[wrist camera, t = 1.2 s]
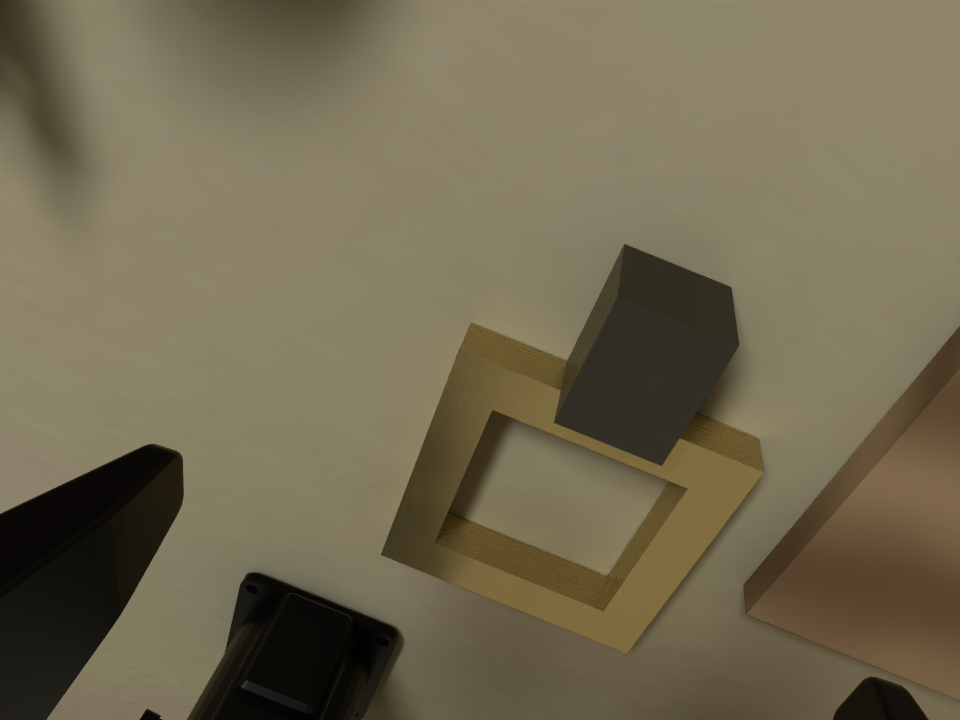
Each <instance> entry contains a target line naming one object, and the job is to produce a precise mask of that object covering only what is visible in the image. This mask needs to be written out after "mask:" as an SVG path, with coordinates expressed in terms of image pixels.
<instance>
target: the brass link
mask: <svg viewBox="0 0 960 720" xmlns="http://www.w3.org/2000/svg"><path fill="white" fill-rule="evenodd" d="M738 347H739V341H738V333H737V326H736V319H735V312H734V304H733V297H732V290H731V287H729V286H727V285H724V284H722V283H719V282H717V281H714V280H712V279H710V278H707V277H705V276H702V275H700V274H697V273H695V272H692V271H690V270H687V269H685V268H682V267H680V266H677V265H675V264H672V263H670V262H667V261H665V260H662V259H660V258H657V257H655V256H652V255H650V254H647V253H645V252H643V251H640V250H638V249H635V248H633V247H630V246H628V245H625V244H624V246H623V248H622V250H621V252H620V254H619V256H618V258H617V260H616V262H615V265H614V267H613V269H612V271H611V273H610V275H609V277H608V279H607V281H606V283H605V285H604V287H603V289H602V291H601V293H600V295H599V297H598V299H597V301H596V303H595V306H594V308H593V310H592V312H591V314H590V316H589V318H588V320H587V322H586V324H585V326H584V328H583V330H582V332H581V334H580V336H579V338H578V340H577V342H576V344H575V346H574V349H573V351H572V353H571V355H570V357H569V359H568V361H564V360H562V359H559V358H557V357H554V356H552V355H549V354H547V353H544V352H542V351H539V350H537V349H534V348H532V347H529V346H527V345H524V344H522V343H519V342H517V341H514V340H512V339H510V338H507V337H505V336H502V335H500V334H497V333H495V332H492V331H490V330H487V329H485V328H482V327H480V326H477V325H475V324H472V323H471V324H470V326H469V329H468V331H467V333H466V335H465V337H464V340H463V342H462V344H461V346H460V349H459V351H458V354H457V356H456V359H455V362H454V364H453V367H452V369H451V372H450V375H449V377H448V380H447V383H446V385H445V388H444V390H443V393H442V396H441V398H440V401H439V404H438V406H437V409H436V411H435V414H434V417H433V419H432V422H431V425H430V427H429V430H428V432H427V435H426V438H425V440H424V443H423V446H422V448H421V451H420V453H419V456H418V459H417V461H416V464H415V467H414V469H413V472H412V474H411V477H410V480H409V482H408V485H407V488H406V490H405V493H404V495H403V498H402V501H401V503H400V506H399V509H398V511H397V514H396V516H395V519H394V522H393V524H392V527H391V530H390V532H389V535H388V538H387V540H386V543H385V545H384V548H383V551H382V553H381V555H383V556H385V557H388V558H390V559H393V560H395V561H398V562H400V563H402V564H405V565H407V566H410V567H412V568H415V569H417V570H420V571H422V572H425V573H427V574H430V575H432V576H435V577H437V578H440V579H442V580H445V581H447V582H450V583H452V584H455V585H457V586H460V587H462V588H465V589H467V590H470V591H472V592H475V593H477V594H480V595H482V596H485V597H487V598H490V599H492V600H495V601H497V602H500V603H502V604H505V605H507V606H510V607H512V608H515V609H517V610H520V611H522V612H524V613H527V614H529V615H532V616H534V617H537V618H539V619H542V620H544V621H547V622H549V623H552V624H554V625H557V626H559V627H562V628H564V629H567V630H569V631H572V632H574V633H577V634H579V635H582V636H584V637H587V638H589V639H592V640H594V641H597V642H599V643H602V644H604V645H607V646H609V647H612V648H614V649H617V650H619V651H622V652H624V653H628V651H629V650H630V649H631V648H632V646H633V645H634V644H635V642H636V641H637V640H638V638H639V637H640V636H641V634H642V633H643V632H644V630H645V629H646V628H647V626H648V625H649V624H650V622H651V621H652V620H653V618H654V617H655V616H656V614H657V613H658V612H659V610H660V609H661V608H662V607H663V605H664V604H665V603H666V601H667V600H668V599H669V597H670V596H671V595H672V593H673V592H674V591H675V589H676V588H677V587H678V585H679V584H680V583H681V581H682V580H683V579H684V577H685V576H686V575H687V573H688V572H689V571H690V569H691V568H692V567H693V565H694V564H695V563H696V562H697V560H698V559H699V558H700V556H701V555H702V554H703V552H704V551H705V550H706V548H707V547H708V546H709V544H710V543H711V542H712V540H713V539H714V538H715V536H716V535H717V534H718V532H719V531H720V530H721V528H722V527H723V526H724V524H725V523H726V522H727V521H728V519H729V518H730V517H731V515H732V514H733V513H734V511H735V510H736V509H737V507H738V506H739V505H740V503H741V502H742V501H743V499H744V498H745V497H746V495H747V494H748V493H749V491H750V490H751V489H752V487H753V486H754V485H755V483H756V482H757V481H758V479H759V478H760V477H761V476H762V474H763V473H764V469H763V462H762V456H761V449H760V442H759V439H758V438H755V437H753V436H750V435H748V434H745V433H743V432H741V431H738V430H736V429H733V428H731V427H728V426H726V425H723V424H721V423H718V422H716V421H713V420H711V419H708V418H706V417H703V416H701V415H698V414H696V412H697V411H698V409H699V407H700V406H701V404H702V403H703V401H704V400H705V398H706V397H707V395H708V393H709V392H710V390H711V389H712V387H713V386H714V384H715V382H716V381H717V379H718V378H719V376H720V375H721V373H722V372H723V370H724V368H725V367H726V365H727V364H728V362H729V361H730V359H731V358H732V356H733V354H734V353H735V351H736V350H737V348H738ZM492 410H494V411H496V412H499V413H501V414H504V415H506V416H509V417H511V418H514V419H516V420H519V421H521V422H524V423H526V424H529V425H531V426H533V427H536V428H538V429H541V430H543V431H546V432H548V433H551V434H553V435H556V436H558V437H561V438H563V439H566V440H568V441H571V442H573V443H576V444H578V445H581V446H583V447H586V448H588V449H591V450H593V451H596V452H598V453H601V454H603V455H606V456H608V457H611V458H613V459H616V460H618V461H620V462H623V463H625V464H628V465H630V466H633V467H635V468H638V469H640V470H643V471H645V472H648V473H650V474H653V475H655V476H658V477H660V478H663V479H665V480H668V481H670V482H669V484H668V485H667V487H666V488H665V490H664V491H663V493H662V494H661V496H660V497H659V499H658V501H657V502H656V504H655V505H654V507H653V508H652V510H651V511H650V513H649V514H648V516H647V517H646V519H645V520H644V522H643V523H642V525H641V526H640V528H639V529H638V531H637V532H636V534H635V535H634V537H633V538H632V540H631V541H630V543H629V544H628V546H627V547H626V549H625V550H624V552H623V553H622V555H621V556H620V558H619V559H618V561H617V562H616V564H615V565H614V567H613V568H612V570H611V571H610V573H609V575H608V576H607V577H606V576H603V575H601V574H598V573H596V572H593V571H591V570H588V569H586V568H583V567H581V566H578V565H576V564H573V563H571V562H568V561H566V560H564V559H561V558H559V557H556V556H554V555H551V554H549V553H546V552H544V551H541V550H539V549H536V548H534V547H531V546H529V545H526V544H524V543H521V542H519V541H516V540H514V539H511V538H509V537H506V536H504V535H501V534H499V533H496V532H494V531H491V530H489V529H486V528H484V527H481V526H479V525H476V524H474V523H471V522H469V521H466V520H464V519H461V518H459V517H457V516H454V515H452V514H449V513H448V511H449V508H450V506H451V504H452V501H453V499H454V497H455V495H456V492H457V490H458V488H459V485H460V483H461V481H462V478H463V476H464V474H465V472H466V469H467V467H468V465H469V462H470V460H471V458H472V456H473V453H474V451H475V449H476V446H477V444H478V442H479V440H480V437H481V435H482V433H483V430H484V428H485V426H486V424H487V421H488V419H489V417H490V414H491V412H492Z"/></svg>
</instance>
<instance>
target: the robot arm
mask: <svg viewBox="0 0 960 720" xmlns="http://www.w3.org/2000/svg"><path fill="white" fill-rule="evenodd" d="M183 496H184V486H183V459H182V456H181V454H180V453H179V452H178V451H175V450H172V449H169V448H166V447H163V446H160V445H157V444H149V445H145V446H143V447H140V448H138V449H136V450H134V451H132V452H130V453H128V454H126V455H123V456H121V457H119V458H117V459H115V460H113V461H111V462H109V463H107V464H104V465H102V466H100V467H98V468H96V469H94V470H92V471H90V472H88V473H85V474H83V475H81V476H79V477H77V478H75V479H73V480H71V481H68V482H66V483H64V484H62V485H60V486H58V487H56V488H54V489H52V490H49V491H47V492H45V493H43V494H41V495H39V496H37V497H35V498H33V499H30V500H28V501H26V502H24V503H22V504H20V505H18V506H16V507H13V508H11V509H9V510H7V511H5V512H3V513H1V514H0V720H46V719H47V718H48V716H49V715H50V714H51V712H52V711H53V709H54V708H55V707H56V705H57V704H58V702H59V701H60V700H61V698H62V697H63V695H64V694H65V693H66V691H67V690H68V688H69V687H70V686H71V684H72V683H73V681H74V680H75V679H76V677H77V676H78V674H79V673H80V672H81V670H82V669H83V667H84V666H85V665H86V663H87V662H88V660H89V659H90V658H91V656H92V655H93V653H94V652H95V651H96V649H97V648H98V646H99V645H100V644H101V642H102V641H103V639H104V638H105V637H106V635H107V634H108V632H109V631H110V630H111V628H112V627H113V625H114V624H115V622H116V621H117V619H118V618H119V616H120V615H121V613H122V612H123V610H124V608H125V606H126V605H127V603H128V601H129V600H130V598H131V596H132V595H133V593H134V591H135V589H136V587H137V586H138V584H139V582H140V580H141V579H142V577H143V575H144V573H145V571H146V570H147V568H148V566H149V564H150V563H151V561H152V559H153V557H154V555H155V554H156V552H157V550H158V548H159V547H160V545H161V543H162V541H163V539H164V538H165V536H166V534H167V532H168V530H169V529H170V527H171V525H172V523H173V522H174V520H175V518H176V516H177V514H178V512H179V510H180V508H181V505H182V502H183ZM397 639H398V634H397V632H396V631H395V630H394V629H393V628H391V627H390V626H387V625H385V624H382V623H380V622H377V621H375V620H372V619H370V618H367V617H365V616H362V615H360V614H357V613H355V612H353V611H350V610H348V609H345V608H343V607H340V606H338V605H335V604H333V603H330V602H328V601H325V600H323V599H320V598H318V597H315V596H313V595H310V594H308V593H305V592H303V591H300V590H298V589H295V588H293V587H290V586H288V585H285V584H283V583H280V582H278V581H275V580H273V579H270V578H268V577H265V576H263V575H260V574H257V573H248V574H246V576H245V578H244V579H243V581H242V583H241V584H240V588H239V593H238V597H237V602H236V606H235V611H234V615H233V620H232V624H231V629H230V633H229V637H228V642H227V646H226V651H225V654H224V656H223V658H222V659H221V661H220V663H219V665H218V666H217V668H216V670H215V671H214V673H213V675H212V677H211V678H210V680H209V682H208V684H207V685H206V687H205V689H204V691H203V692H202V694H201V696H200V698H199V699H198V701H197V703H196V704H195V706H194V708H193V710H192V711H191V713H190V715H189V717H188V718H187V720H361V719H362V718H363V717H364V715H365V712H366V710H367V708H368V706H369V703H370V701H371V699H372V697H373V694H374V692H375V690H376V688H377V685H378V683H379V681H380V679H381V676H382V674H383V672H384V670H385V667H386V665H387V663H388V661H389V658H390V656H391V654H392V652H393V649H394V647H395V644H396V642H397ZM160 717H161V715H159V714H157V713H155V712H153V711H151V710H149V709H147V710H146V711H145V713H144V714H143V716H142V717H141V719H140V720H162V719H160ZM833 720H929V719H928V718H927V717H926V715H925V714H924V712H923V711H922V710H921V708H920V707H919V705H918V704H917V703H916V701H915V700H914V698H913V697H912V695H911V694H910V693H909V692H908V691H907V690H906V689H905V688H904V687H902V686H901V685H898V684H896V683H893V682H889V681H886V680H883V679H880V678H877V677H872V676H871V677H868V678H865V679H864V680H863V681H862V682H861V683H860V684H859V685H858V686H857V688H856V689H855V690H854V691H853V692H852V693H851V694H850V695H849V696H848V698H847V699H846V700H845V701H844V702H843V703H842V704H841V705H840V707H839V708H838V709H837V711H836V713H835V715H834V718H833Z"/></svg>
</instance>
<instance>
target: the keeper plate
mask: <svg viewBox="0 0 960 720" xmlns="http://www.w3.org/2000/svg"><path fill="white" fill-rule="evenodd" d="M744 594H745V605H746V614H747V615H749V616H752V617H754V618H757V619H759V620H762V621H764V622H767V623H769V624H772V625H774V626H777V627H779V628H782V629H784V630H787V631H789V632H792V633H794V634H797V635H799V636H802V637H804V638H807V639H809V640H812V641H814V642H817V643H819V644H822V645H824V646H827V647H829V648H832V649H834V650H837V651H839V652H842V653H844V654H846V655H849V656H851V657H854V658H856V659H859V660H861V661H864V662H866V663H869V664H871V665H874V666H876V667H879V668H881V669H884V670H886V671H889V672H891V673H894V674H896V675H899V676H901V677H904V678H906V679H909V680H911V681H914V682H916V683H919V684H921V685H924V686H926V687H929V688H931V689H934V690H936V691H939V692H941V693H943V694H946V695H948V696H951V697H953V698H956V699H958V700H960V327H959V328H958V329H957V330H956V332H955V333H954V334H953V335H952V336H951V338H950V339H949V340H948V341H947V342H946V344H945V345H944V346H943V347H942V348H941V350H940V351H939V352H938V353H937V354H936V356H935V357H934V358H933V359H932V360H931V362H930V363H929V364H928V365H927V366H926V368H925V369H924V370H923V371H922V372H921V374H920V375H919V376H918V377H917V378H916V380H915V381H914V382H913V383H912V384H911V386H910V387H909V388H908V389H907V390H906V391H905V393H904V394H903V395H902V396H901V397H900V399H899V400H898V401H897V402H896V403H895V405H894V406H893V407H892V408H891V409H890V411H889V412H888V413H887V414H886V415H885V417H884V418H883V419H882V420H881V421H880V423H879V424H878V425H877V426H876V427H875V429H874V430H873V431H872V432H871V433H870V435H869V436H868V437H867V438H866V439H865V441H864V442H863V443H862V444H861V445H860V447H859V448H858V449H857V450H856V451H855V453H854V454H853V455H852V456H851V457H850V459H849V460H848V461H847V462H846V463H845V465H844V466H843V467H842V468H841V469H840V471H839V472H838V473H837V474H836V475H835V477H834V478H833V479H832V480H831V481H830V483H829V484H828V485H827V486H826V487H825V489H824V490H823V491H822V492H821V493H820V494H819V496H818V497H817V498H816V499H815V500H814V502H813V503H812V504H811V505H810V506H809V508H808V509H807V510H806V511H805V512H804V514H803V515H802V516H801V517H800V518H799V520H798V521H797V522H796V523H795V524H794V526H793V527H792V528H791V529H790V530H789V532H788V533H787V534H786V535H785V536H784V538H783V539H782V540H781V541H780V542H779V544H778V545H777V546H776V547H775V548H774V550H773V551H772V552H771V553H770V554H769V556H768V557H767V558H766V559H765V560H764V562H763V563H762V564H761V565H760V566H759V568H758V569H757V570H756V571H755V572H754V574H753V575H752V576H751V577H750V578H749V580H748V581H747V582H746V583H745V584H744Z"/></svg>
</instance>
